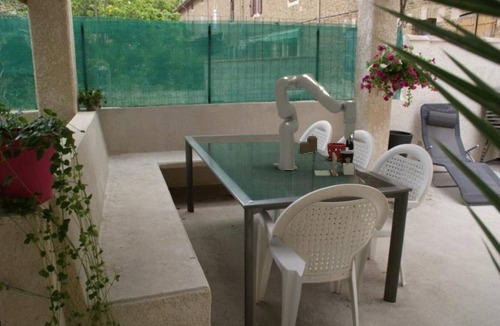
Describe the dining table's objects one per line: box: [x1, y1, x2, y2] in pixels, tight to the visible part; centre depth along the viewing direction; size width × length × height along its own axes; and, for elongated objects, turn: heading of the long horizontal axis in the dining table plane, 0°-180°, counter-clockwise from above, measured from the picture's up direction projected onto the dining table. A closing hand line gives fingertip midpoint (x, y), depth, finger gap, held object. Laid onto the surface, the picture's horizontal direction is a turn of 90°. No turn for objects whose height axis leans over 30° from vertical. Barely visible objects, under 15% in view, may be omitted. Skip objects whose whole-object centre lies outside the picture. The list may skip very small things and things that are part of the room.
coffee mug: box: [336, 150, 355, 168], centre depth 280 cm, size 12×9×10 cm
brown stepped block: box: [299, 133, 318, 153], centre depth 331 cm, size 14×14×15 cm
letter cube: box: [342, 162, 355, 176], centre depth 262 cm, size 7×6×6 cm
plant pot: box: [326, 142, 347, 162], centre depth 301 cm, size 13×13×12 cm
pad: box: [313, 170, 331, 177], centre depth 264 cm, size 9×11×1 cm
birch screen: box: [330, 153, 339, 177], centre depth 263 cm, size 3×13×12 cm, turn 176°
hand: (349, 148), depth 260 cm, fingers open, 9 cm apart
